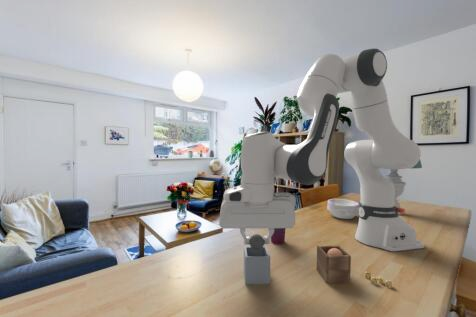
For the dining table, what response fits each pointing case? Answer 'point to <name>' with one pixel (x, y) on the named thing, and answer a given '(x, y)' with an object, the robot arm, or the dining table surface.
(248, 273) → the grey square open box
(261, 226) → the robot arm
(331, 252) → the terracotta ball
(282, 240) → the cup
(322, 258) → the walnut tube
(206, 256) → the dining table surface
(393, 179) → the table lamp
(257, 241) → the charcoal ball
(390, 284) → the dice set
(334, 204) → the white purple floral bowl
